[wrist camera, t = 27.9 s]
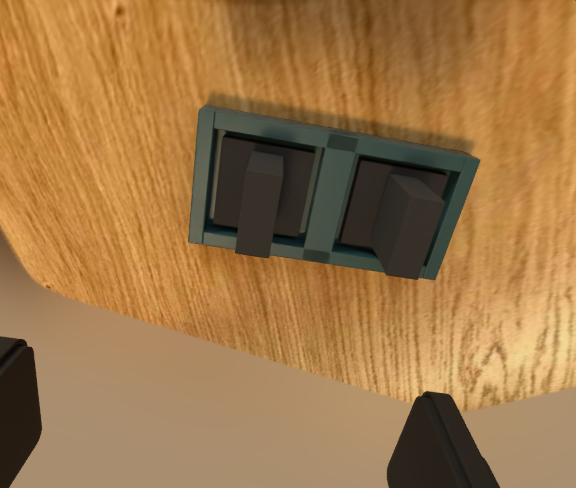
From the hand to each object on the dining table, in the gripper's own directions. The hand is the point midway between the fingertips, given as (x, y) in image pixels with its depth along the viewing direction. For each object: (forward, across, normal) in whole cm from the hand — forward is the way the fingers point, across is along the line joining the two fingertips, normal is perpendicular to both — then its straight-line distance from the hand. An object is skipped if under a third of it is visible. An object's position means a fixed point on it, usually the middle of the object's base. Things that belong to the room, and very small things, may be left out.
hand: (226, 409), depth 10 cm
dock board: (+20, -4, 0) cm, 21 cm away
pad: (+20, 0, 0) cm, 20 cm away
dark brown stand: (+20, -9, 0) cm, 22 cm away
